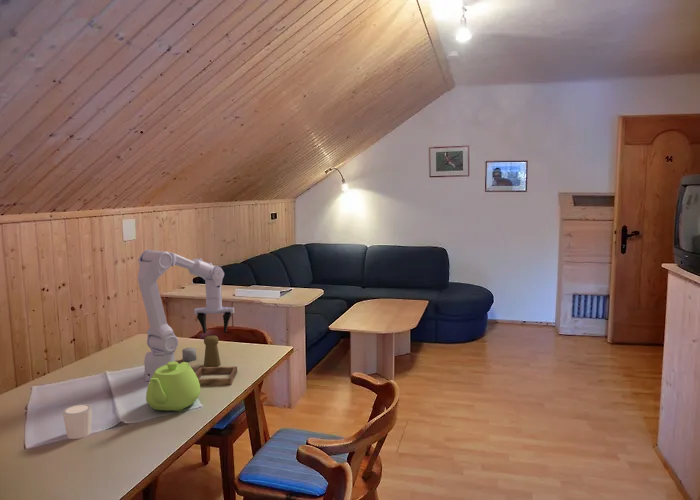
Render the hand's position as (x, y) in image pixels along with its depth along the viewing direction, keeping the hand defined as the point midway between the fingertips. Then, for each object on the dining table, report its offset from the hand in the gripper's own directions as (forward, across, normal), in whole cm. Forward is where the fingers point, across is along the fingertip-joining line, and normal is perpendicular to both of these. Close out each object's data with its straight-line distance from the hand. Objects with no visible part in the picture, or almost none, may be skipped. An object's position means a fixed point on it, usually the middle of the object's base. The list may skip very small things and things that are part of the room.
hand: (215, 332), depth 197 cm
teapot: (+11, +4, +43) cm, 45 cm away
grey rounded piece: (+10, +10, 0) cm, 14 cm away
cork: (+11, 0, +8) cm, 13 cm away
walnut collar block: (+10, -4, +22) cm, 24 cm away
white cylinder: (+11, +24, +59) cm, 65 cm away
